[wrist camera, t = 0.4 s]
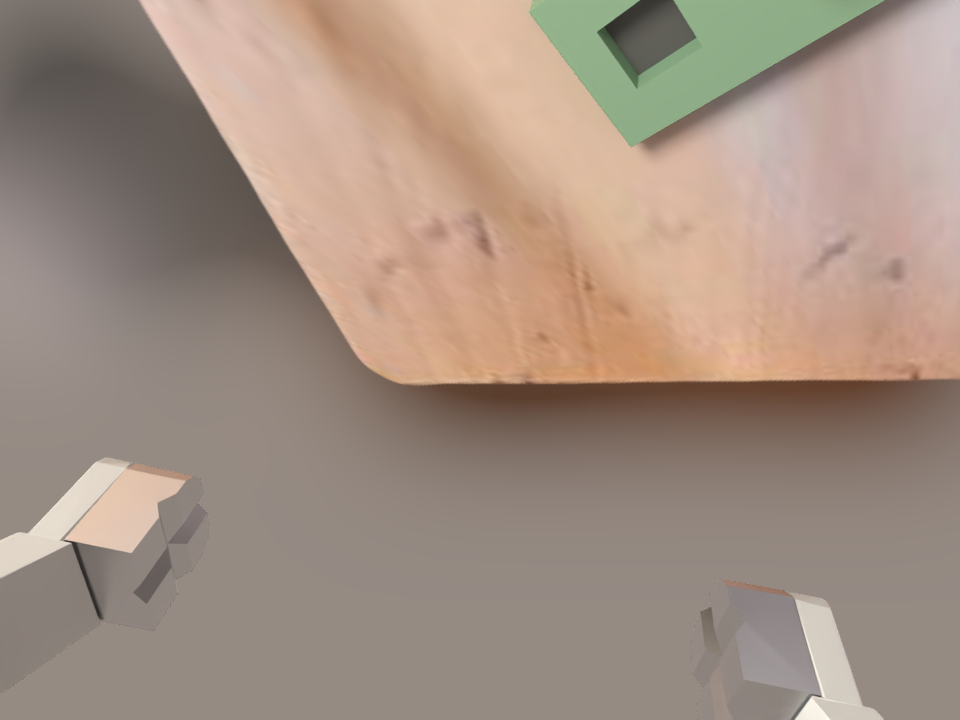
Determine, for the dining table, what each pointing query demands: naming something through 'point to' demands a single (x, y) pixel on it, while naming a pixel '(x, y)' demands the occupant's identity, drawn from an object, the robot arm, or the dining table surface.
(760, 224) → the dining table surface
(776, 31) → the green board
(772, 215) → the dining table surface
